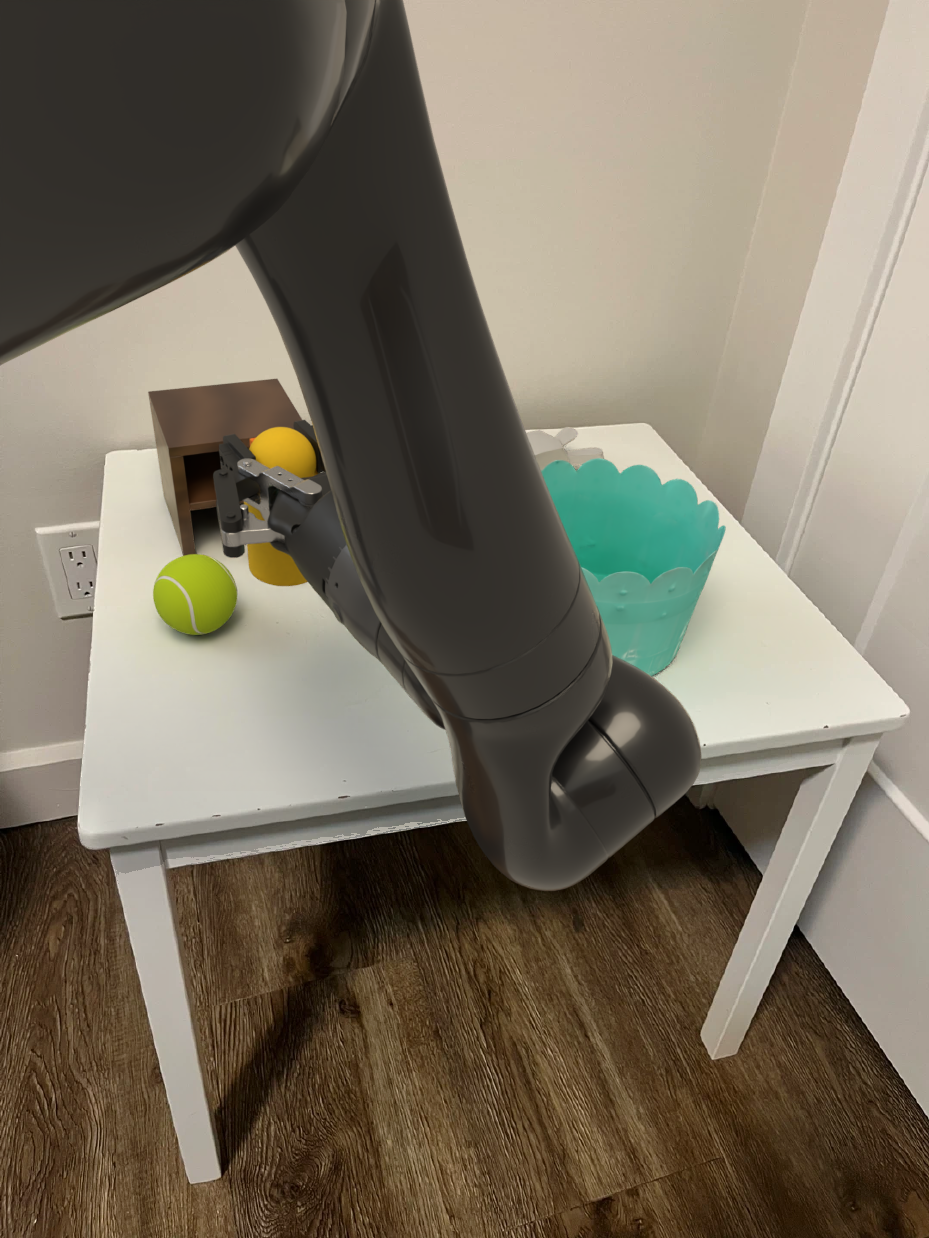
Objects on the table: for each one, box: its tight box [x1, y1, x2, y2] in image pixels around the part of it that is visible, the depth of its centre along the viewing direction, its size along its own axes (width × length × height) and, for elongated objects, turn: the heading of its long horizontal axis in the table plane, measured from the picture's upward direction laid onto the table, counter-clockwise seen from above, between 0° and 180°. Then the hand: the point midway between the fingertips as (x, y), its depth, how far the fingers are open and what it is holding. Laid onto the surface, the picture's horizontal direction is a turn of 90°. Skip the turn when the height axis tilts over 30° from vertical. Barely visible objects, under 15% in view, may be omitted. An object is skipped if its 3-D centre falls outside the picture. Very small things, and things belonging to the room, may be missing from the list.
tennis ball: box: [152, 553, 238, 636], centre depth 79 cm, size 7×7×7 cm
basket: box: [541, 458, 726, 677], centre depth 82 cm, size 19×18×13 cm
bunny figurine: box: [526, 426, 605, 470], centre depth 105 cm, size 10×5×15 cm
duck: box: [243, 427, 319, 587], centre depth 61 cm, size 6×5×10 cm
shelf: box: [147, 378, 303, 556], centre depth 92 cm, size 13×12×12 cm
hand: (264, 440), depth 61 cm, fingers closed on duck, 4 cm apart
